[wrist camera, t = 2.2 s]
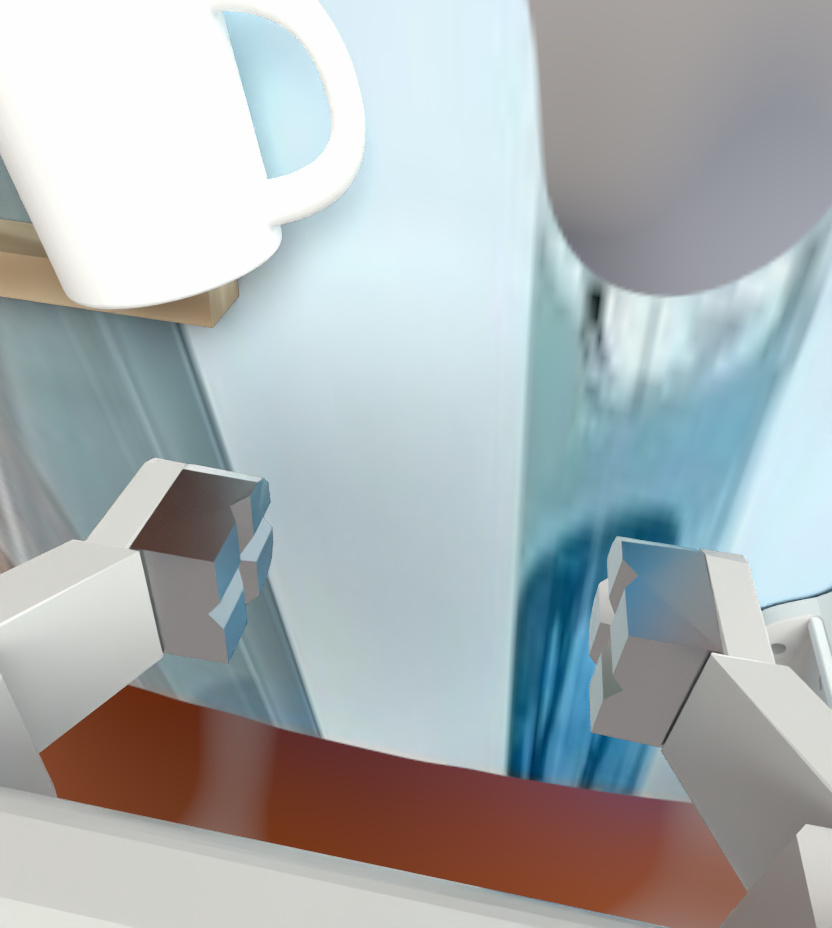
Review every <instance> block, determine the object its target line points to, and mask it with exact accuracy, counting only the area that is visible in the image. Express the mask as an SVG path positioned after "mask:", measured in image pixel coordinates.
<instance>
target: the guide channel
mask: <svg viewBox="0 0 832 928" xmlns="http://www.w3.org/2000/svg"><path fill="white" fill-rule="evenodd" d="M0 296H2V297H8V298H15V299H22V300H29V301H35V302H42V303H49V304H55V305H62V306H69V307H75V308H82V309H89V310H96V311H102V312H109V313H116V314H122V315H129V316H136V317H143V318H149V319H156V320H163V321H169V322H176V323H183V324H190V325H196V326H203V327H210V328H213V327H214V326H215V324H216V323H217V322H218V321H219V320H220V318H221V317H222V316H223V315H224V314H225V312H226V311H227V310H228V309H229V307H230V306H231V305H232V304H233V303H234V301H235V300H236V299H237V298H238V297H239V290H238V279H236V280H234V281H232V282H230V283H227V284H225V285H223V286H220V287H218V288H215V289H212V290H210V291H207V292H204V293H201V294H198V295H195V296H191V297H188V298H184V299H181V300H177V301H173V302H168V303H164V304H159V305H153V306H147V307H140V308H131V309H96V308H90V307H86V306H82V305H80V304H77V303H75V302H74V301H72V300H71V299H70V298H69V297H68V296H67V295H66V294H65V292H64V290H63V288H62V286H61V283H60V281H59V279H58V277H57V275H56V273H55V271H54V268H53V266H52V264H51V262H50V260H49V258H48V256H47V253H46V251H45V249H44V247H43V245H42V243H41V241H40V239H39V236H38V234H37V232H36V230H35V228H34V226H33V224H32V223H26V222H19V221H12V220H5V219H0Z"/></svg>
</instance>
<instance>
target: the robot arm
mask: <svg viewBox="0 0 832 928" xmlns="http://www.w3.org/2000/svg"><path fill="white" fill-rule="evenodd" d="M269 504H270V493H269V484H268V482H267V481H266V480H265V479H264V478H262V477H257V476H252V475H246V474H241V473H236V472H231V471H225V470H220V469H215V468H210V467H204V466H199V465H194V464H191V465H188V464H184V463H179V462H174V461H169V460H163V459H158V458H153V459H151V460H149V461H147V462H145V463H144V464H143V465H142V466H141V468H140V469H139V470H138V472H137V473H136V474H135V476H134V477H133V478H132V479H131V481H130V482H129V483H128V485H127V486H126V487H125V489H124V490H123V491H122V493H121V494H120V495H119V497H118V498H117V499H116V500H115V502H114V503H113V504H112V506H111V507H110V508H109V510H108V511H107V512H106V514H105V515H104V516H103V518H102V519H101V520H100V521H99V523H98V524H97V525H96V527H95V528H94V529H93V531H92V532H91V533H90V535H89V536H88V537H87V539H86V540H85V541H80V540H74V539H73V540H71V541H69V542H67V543H65V544H62V545H60V546H58V547H56V548H54V549H52V550H50V551H48V552H46V553H44V554H42V555H39V556H37V557H35V558H33V559H31V560H29V561H27V562H25V563H23V564H21V565H19V566H16V567H14V568H12V569H10V570H8V571H6V572H4V573H2V574H0V928H670V927H665V926H660V925H655V924H651V923H646V922H642V921H637V920H632V919H627V918H623V917H618V916H613V915H609V914H604V913H599V912H594V911H589V910H585V909H580V908H576V907H571V906H566V905H562V904H557V903H552V902H547V901H543V900H538V899H533V898H528V897H524V896H518V895H514V894H510V893H505V892H500V891H495V890H491V889H485V888H481V887H476V886H472V885H467V884H463V883H458V882H453V881H448V880H444V879H439V878H434V877H430V876H425V875H420V874H415V873H410V872H406V871H401V870H396V869H392V868H387V867H382V866H377V865H372V864H368V863H363V862H358V861H354V860H349V859H344V858H340V857H335V856H330V855H325V854H321V853H316V852H311V851H306V850H302V849H297V848H291V847H287V846H282V845H277V844H273V843H268V842H264V841H259V840H254V839H249V838H244V837H239V836H235V835H230V834H226V833H221V832H216V831H211V830H206V829H201V828H197V827H192V826H187V825H183V824H178V823H173V822H169V821H164V820H159V819H154V818H150V817H145V816H140V815H136V814H131V813H126V812H121V811H117V810H111V809H107V808H102V807H98V806H93V805H88V804H83V803H79V802H74V801H69V800H64V799H59V798H57V795H56V791H55V788H54V785H53V783H52V781H51V779H50V777H49V775H48V773H47V770H46V769H45V766H44V764H43V762H42V760H41V758H40V755H39V753H40V752H41V751H42V750H43V749H45V748H46V747H47V746H49V745H50V744H51V743H53V742H54V741H55V740H56V739H58V738H59V737H60V736H61V735H63V734H64V733H65V732H67V731H68V730H69V729H71V728H72V727H73V726H74V725H76V724H77V723H78V722H79V721H81V720H82V719H84V718H85V717H86V716H87V715H89V714H90V713H91V712H93V711H94V710H95V709H96V708H98V707H99V706H100V705H102V704H103V703H104V702H106V701H107V700H108V699H109V698H111V697H112V696H113V695H115V694H116V693H117V692H118V691H120V690H121V689H122V688H124V687H125V686H126V685H128V684H129V683H130V682H131V681H133V680H134V679H135V678H137V677H138V676H139V675H140V674H142V673H143V672H144V671H146V670H147V669H148V668H150V667H151V666H152V665H153V664H155V663H156V662H157V661H159V660H160V659H161V658H162V657H163V653H166V654H173V655H179V656H185V657H191V658H197V659H204V660H210V661H216V662H222V663H229V661H230V659H231V657H232V655H233V652H234V650H235V648H236V646H237V644H238V642H239V639H240V637H241V635H242V633H243V631H244V628H245V626H246V624H247V614H246V604H247V603H249V602H250V601H252V600H253V599H255V598H256V597H258V596H259V595H260V593H261V590H262V588H263V586H264V583H265V581H266V578H267V574H268V570H269V566H270V562H271V558H272V548H273V531H272V526H271V525H270V524H269V523H268V522H267V520H266V519H265V518H264V517H263V516H264V514H265V512H266V510H267V508H268V506H269ZM607 564H608V578H607V579H606V580H604V581H602V582H601V583H599V586H598V589H597V593H596V596H595V599H594V603H593V609H592V614H591V620H590V631H589V656H590V657H591V659H592V660H593V661H594V663H595V664H596V665H597V666H596V668H595V671H594V674H593V677H592V680H591V683H590V716H591V733H596V734H601V735H605V736H610V737H614V738H619V739H624V740H628V741H633V742H638V743H642V744H647V745H651V746H656V747H661V748H662V750H661V752H662V753H663V755H664V757H665V758H666V760H667V762H668V763H669V765H670V766H671V768H672V770H673V771H674V773H675V775H676V776H677V778H678V780H679V781H680V783H681V784H682V786H683V788H684V789H685V791H686V793H687V794H688V796H689V798H690V799H691V801H692V802H693V804H694V805H695V807H696V809H697V811H698V812H699V813H700V815H701V817H702V819H703V820H704V822H705V824H706V825H707V827H708V829H709V830H710V832H711V833H712V835H713V837H714V838H715V840H716V841H717V843H718V845H719V846H720V848H721V850H722V851H723V853H724V855H725V856H726V858H727V860H728V861H729V863H730V865H731V866H732V868H733V869H734V871H735V873H736V874H737V876H738V878H739V879H740V881H741V882H742V884H743V886H744V887H745V889H746V891H747V892H748V893H747V894H746V895H745V897H744V898H743V899H742V900H741V901H740V902H739V904H738V905H737V906H736V907H735V908H734V909H733V911H732V912H731V913H730V914H729V916H728V917H727V918H726V919H725V920H724V921H723V923H722V924H721V925H720V926H719V927H718V928H832V591H831V592H829V593H827V594H824V595H821V596H819V597H815V598H809V599H804V600H799V601H794V602H789V603H785V604H780V605H776V606H773V607H770V608H767V609H765V610H763V611H761V607H760V604H759V600H758V596H757V593H756V589H755V585H754V581H753V578H752V574H751V570H750V566H749V563H748V561H747V560H746V559H745V557H744V556H743V555H738V554H732V553H725V552H718V551H711V550H705V549H700V550H697V549H694V548H688V547H681V546H675V545H669V544H662V543H656V542H650V541H643V540H637V539H631V538H625V537H618V536H617V537H616V539H615V540H614V542H613V544H612V546H611V549H610V552H609V555H608V558H607Z"/></svg>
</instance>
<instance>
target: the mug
mask: <svg viewBox="0 0 832 928" xmlns="http://www.w3.org/2000/svg"><path fill="white" fill-rule="evenodd" d="M223 11H236V12H244V13H249V14H254V15H258V16H261V17H264V18H266V19H269V20H271V21H273V22H275V23H277V24H279V25H280V26H282V27H284V28H285V29H286V30H288V31H289V32H290V33H291V34H293V35H294V36H295V37H296V38H297V39H298V40H299V41H300V43H301V44H302V45H303V46H304V47H305V49H306V50H307V52H308V53H309V55H310V56H311V58H312V60H313V62H314V64H315V66H316V68H317V70H318V73H319V75H320V78H321V80H322V83H323V86H324V89H325V92H326V96H327V99H328V104H329V108H330V114H331V134H330V138H329V142H328V144H327V146H326V148H325V150H324V151H323V153H322V154H321V155H320V156H319V157H318V158H317V159H316V160H315V161H314V162H312V163H311V164H309V165H308V166H306V167H304V168H302V169H300V170H298V171H296V172H293V173H290V174H288V175H285V176H281V177H277V178H273V179H269V180H268V178H267V175H266V171H265V167H264V164H263V160H262V156H261V152H260V149H259V145H258V141H257V138H256V134H255V130H254V126H253V123H252V119H251V115H250V112H249V108H248V104H247V100H246V97H245V93H244V89H243V86H242V82H241V78H240V74H239V71H238V67H237V63H236V60H235V56H234V52H233V48H232V45H231V41H230V37H229V34H228V30H227V26H226V22H225V19H224V15H223ZM365 139H366V125H365V113H364V106H363V100H362V95H361V91H360V87H359V83H358V80H357V77H356V73H355V70H354V67H353V64H352V62H351V59H350V56H349V54H348V51H347V49H346V47H345V45H344V43H343V41H342V39H341V37H340V35H339V33H338V31H337V29H336V27H335V26H334V24H333V22H332V21H331V19H330V17H329V16H328V14H327V13H326V12H325V10H324V9H323V7H322V6H321V5H320V3H319V2H318V1H317V0H0V155H1V157H2V159H3V161H4V164H5V166H6V168H7V170H8V172H9V174H10V176H11V179H12V181H13V183H14V185H15V187H16V189H17V191H18V194H19V196H20V198H21V200H22V202H23V204H24V206H25V209H26V211H27V213H28V215H29V217H30V219H31V221H32V224H33V226H34V228H35V230H36V232H37V234H38V236H39V239H40V241H41V243H42V245H43V247H44V249H45V251H46V253H47V256H48V258H49V260H50V262H51V264H52V266H53V268H54V271H55V273H56V275H57V277H58V279H59V281H60V283H61V286H62V288H63V290H64V292H65V294H66V295H67V296H68V297H69V298H70V299H71V300H72V301H74V302H75V303H77V304H80V305H82V306H86V307H90V308H96V309H131V308H140V307H147V306H153V305H159V304H164V303H168V302H173V301H177V300H181V299H184V298H188V297H191V296H195V295H198V294H201V293H204V292H207V291H210V290H212V289H215V288H218V287H220V286H223V285H225V284H227V283H230V282H232V281H234V280H236V279H238V278H240V277H242V276H244V275H246V274H248V273H249V272H251V271H253V270H254V269H256V268H257V267H259V266H260V265H262V264H263V263H264V262H266V261H267V260H268V259H269V258H270V257H271V256H272V255H273V254H274V253H275V252H276V251H277V249H278V248H279V246H280V244H281V241H282V231H281V227H280V225H283V224H287V223H291V222H294V221H297V220H301V219H304V218H306V217H309V216H311V215H313V214H316V213H318V212H320V211H321V210H323V209H325V208H327V207H328V206H330V205H331V204H332V203H334V202H335V201H336V200H337V199H339V198H340V197H341V196H342V195H343V194H344V193H345V192H346V190H347V189H348V188H349V187H350V185H351V184H352V182H353V180H354V179H355V177H356V175H357V173H358V170H359V168H360V165H361V162H362V159H363V154H364V148H365Z"/></svg>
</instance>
